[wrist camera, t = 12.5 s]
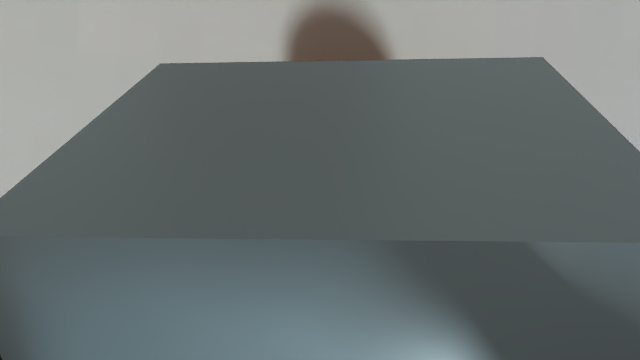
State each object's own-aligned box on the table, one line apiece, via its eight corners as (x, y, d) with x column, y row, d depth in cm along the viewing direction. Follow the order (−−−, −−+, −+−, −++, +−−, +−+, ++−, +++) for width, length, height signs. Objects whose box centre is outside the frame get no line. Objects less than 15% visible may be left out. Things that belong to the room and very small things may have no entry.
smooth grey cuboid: (207, 346, 20) (105, 632, 13) (160, 63, 16) (-46, 236, 8) (501, 354, 20) (590, 667, 12) (542, 57, 15) (733, 243, 7)
